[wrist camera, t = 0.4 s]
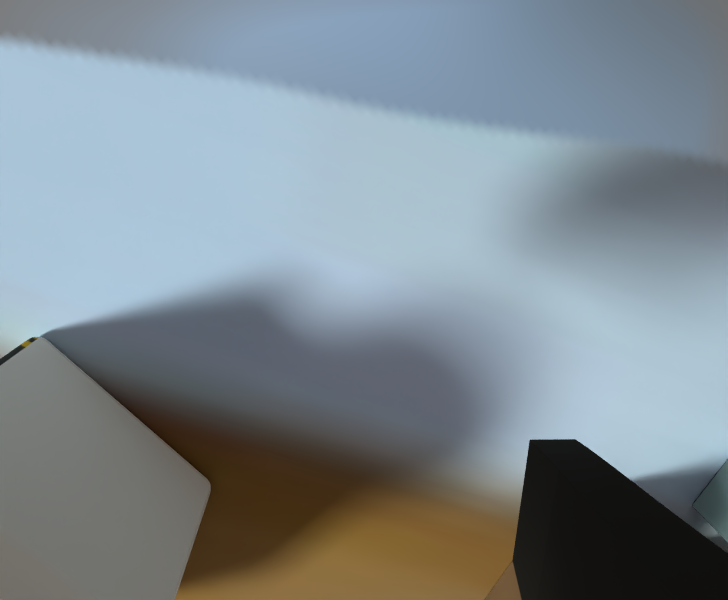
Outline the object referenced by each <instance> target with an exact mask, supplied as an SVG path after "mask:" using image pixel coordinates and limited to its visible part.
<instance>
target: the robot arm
mask: <svg viewBox="0 0 728 600" xmlns="http://www.w3.org/2000/svg"><path fill="white" fill-rule="evenodd" d="M513 565H514V569H515V574H516V578H517V582H518V586H519V591H520V595H521V599H522V600H728V553H726V552H725V551H724V550H722V549H721V548H720V547H718V546H717V545H715V544H714V543H713V542H711V541H710V540H709V539H707V538H706V537H705V536H703V535H702V534H701V533H699V532H698V531H696V530H695V529H694V528H692V527H691V526H690V525H688V524H687V523H686V522H684V521H683V520H682V519H680V518H679V517H678V516H676V515H675V514H674V513H673V512H671V511H670V510H669V509H667V508H666V507H665V506H663V505H662V504H661V503H659V502H658V501H657V500H655V499H654V498H653V497H652V496H650V495H649V494H648V493H646V492H645V491H644V490H643V489H641V488H640V487H639V486H637V485H636V484H635V483H633V482H632V481H631V480H630V479H628V478H627V477H626V476H624V475H623V474H622V473H620V472H619V471H618V470H617V469H615V468H614V467H613V466H611V465H610V464H609V463H607V462H606V461H605V460H603V459H602V458H601V457H599V456H598V455H597V454H595V453H594V452H593V451H591V450H590V449H589V448H587V447H586V446H584V445H583V444H581V443H580V442H578V441H577V440H575V439H570V440H530V443H529V450H528V457H527V464H526V471H525V478H524V485H523V492H522V499H521V506H520V513H519V520H518V527H517V534H516V541H515V548H514V555H513Z"/></svg>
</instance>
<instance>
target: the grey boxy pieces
mask: <svg viewBox="0 0 728 600" xmlns="http://www.w3.org/2000/svg"><path fill="white" fill-rule="evenodd" d="M692 506H693V507H694V508H695V509H696V510H697V511H698V512H699V513H700V514H701V515H702V516H703V517H704V518H705V519H706V520H707V521H708V522H709V524H710V525H711V526H712V527H713V528H714V529H715V530H716V531H717V532H718V533H719V534H720V535H721V536H722V537H723V538H724V539H725V540H726V541H727V542H728V460H727V461H726V462H725V464H724V465H723V466H722V468H721V469H720V470H719V471H718V473H717V474H716V475H715V477H714V478H713V479H712V480H711V482H710V483H709V484H708V486H707V487H706V488H705V489H704V491H703V492H702V493H701V495H700V496H699V497H698V499H697V500H696V501H695V502H694V504H693V505H692Z"/></svg>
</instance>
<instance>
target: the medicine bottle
mask: <svg viewBox="0 0 728 600" xmlns="http://www.w3.org/2000/svg"><path fill="white" fill-rule="evenodd" d="M210 493H211V485H210V482H209V481H208V479H207V478H206V477H205V476H203V475H202V474H201V473H200V472H199V471H198V470H196V469H195V468H194V467H193V466H192V465H191V464H190V463H188V462H187V461H186V460H185V459H184V458H183V457H182V456H180V455H179V454H178V453H177V452H176V451H175V450H173V449H172V448H171V447H170V446H169V445H168V444H167V443H165V442H164V441H163V440H162V439H161V438H160V437H158V436H157V435H156V434H155V433H154V432H153V431H152V430H150V429H149V428H148V427H147V426H146V425H145V424H143V423H142V422H141V421H140V420H139V419H138V418H137V417H135V416H134V415H133V414H132V413H131V412H130V411H128V410H127V409H126V408H125V407H124V406H123V405H122V404H120V403H119V402H118V401H117V400H116V399H115V398H113V397H112V396H111V395H110V394H109V393H108V392H107V391H105V390H104V389H103V388H102V387H101V386H100V385H99V384H97V383H96V382H95V381H94V380H93V379H92V378H90V377H89V376H88V375H87V374H86V373H85V372H84V371H82V370H81V369H80V368H79V367H78V366H77V365H75V364H74V363H73V362H72V361H71V360H70V359H69V358H67V357H66V356H65V355H64V354H63V353H62V352H60V351H59V350H58V349H57V348H56V347H55V346H54V345H52V344H51V343H50V342H49V341H48V340H46V339H44V338H43V337H32V338H30V339H29V340H27V341H25V342H24V343H22V344H21V345H20V346H18V347H17V348H15V349H14V350H12V351H11V352H10V353H8V354H7V355H5V356H4V357H2V358H1V359H0V600H175V598H176V595H177V592H178V589H179V586H180V583H181V580H182V577H183V574H184V571H185V568H186V565H187V562H188V559H189V556H190V553H191V550H192V547H193V544H194V541H195V538H196V535H197V532H198V529H199V526H200V523H201V520H202V517H203V514H204V511H205V508H206V505H207V502H208V499H209V496H210Z"/></svg>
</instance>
